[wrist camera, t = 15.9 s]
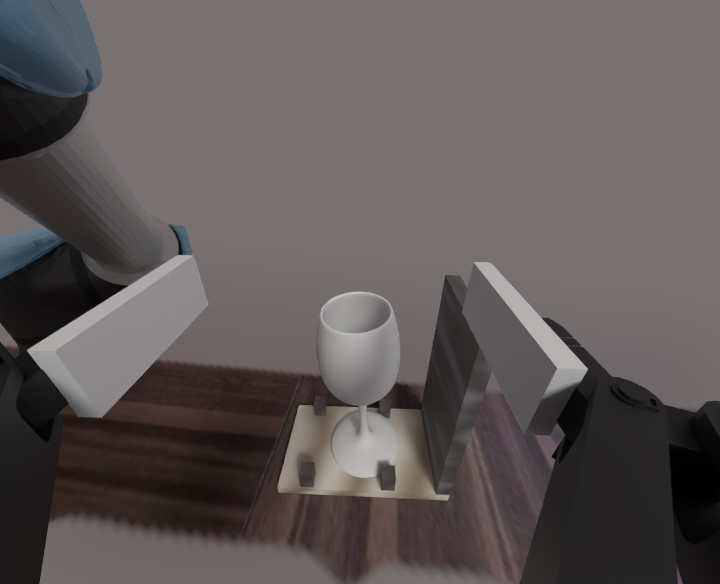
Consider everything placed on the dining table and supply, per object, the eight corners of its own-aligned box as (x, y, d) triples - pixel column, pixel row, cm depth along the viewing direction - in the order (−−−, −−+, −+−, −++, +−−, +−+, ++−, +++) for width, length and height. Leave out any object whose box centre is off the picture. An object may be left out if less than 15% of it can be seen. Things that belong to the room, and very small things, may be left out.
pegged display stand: (278, 492, 32) (236, 335, 21) (299, 410, 42) (279, 271, 30) (447, 500, 32) (501, 343, 20) (429, 415, 41) (459, 275, 30)
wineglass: (410, 431, 37) (421, 300, 26) (376, 495, 31) (371, 359, 20) (356, 401, 41) (345, 278, 30) (317, 452, 35) (286, 321, 24)
